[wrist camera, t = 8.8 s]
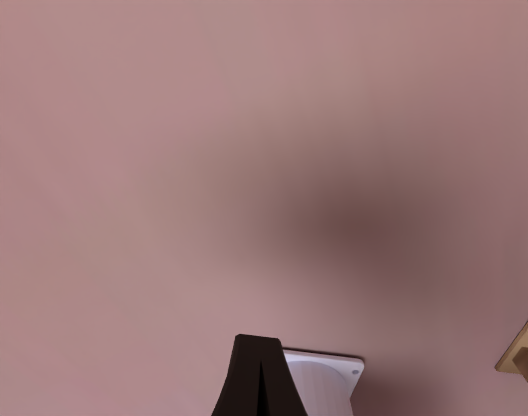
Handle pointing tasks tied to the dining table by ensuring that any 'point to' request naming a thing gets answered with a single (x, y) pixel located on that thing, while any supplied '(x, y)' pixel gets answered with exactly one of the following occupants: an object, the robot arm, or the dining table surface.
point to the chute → (516, 356)
